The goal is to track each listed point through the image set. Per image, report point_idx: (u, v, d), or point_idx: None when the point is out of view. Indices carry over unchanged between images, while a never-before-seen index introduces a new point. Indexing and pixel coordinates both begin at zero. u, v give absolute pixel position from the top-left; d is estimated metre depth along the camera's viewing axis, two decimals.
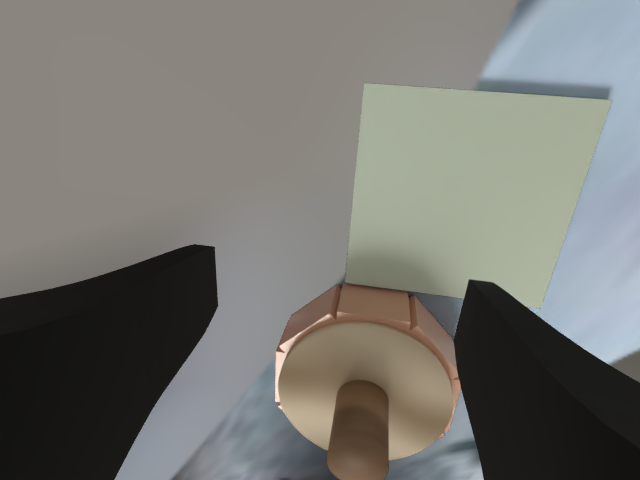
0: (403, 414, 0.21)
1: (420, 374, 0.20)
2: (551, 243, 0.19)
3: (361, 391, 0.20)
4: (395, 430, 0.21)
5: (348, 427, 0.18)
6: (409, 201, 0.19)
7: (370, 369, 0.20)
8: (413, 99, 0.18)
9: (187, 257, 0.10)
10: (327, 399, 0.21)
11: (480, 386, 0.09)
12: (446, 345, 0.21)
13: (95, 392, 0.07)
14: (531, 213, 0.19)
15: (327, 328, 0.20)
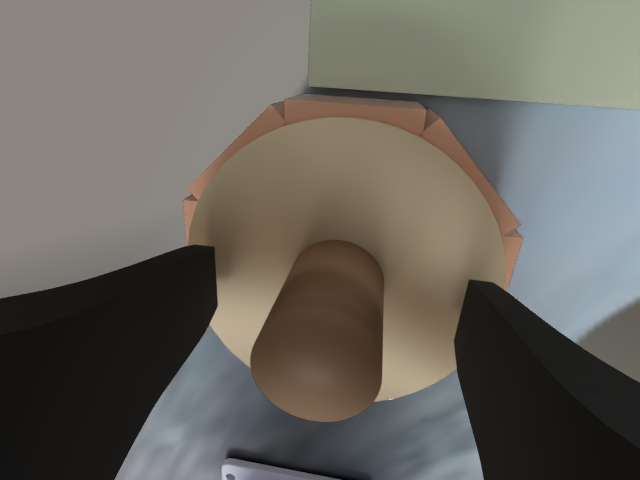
0: (411, 308, 0.11)
1: (445, 219, 0.10)
2: None
3: (331, 252, 0.10)
4: (396, 341, 0.12)
5: (297, 296, 0.08)
6: None
7: (349, 214, 0.11)
8: None
9: (187, 257, 0.10)
10: (275, 285, 0.12)
11: (480, 387, 0.09)
12: None
13: (95, 392, 0.07)
14: None
15: None
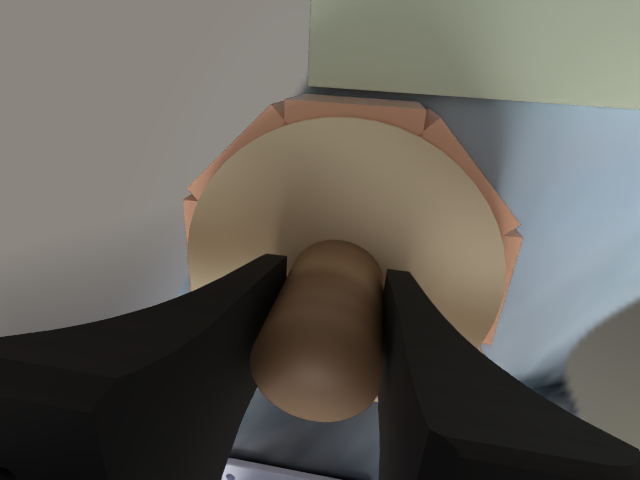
0: None
1: (445, 219, 0.10)
2: None
3: (330, 252, 0.10)
4: None
5: (297, 296, 0.08)
6: None
7: (348, 214, 0.11)
8: None
9: (271, 268, 0.09)
10: None
11: (383, 371, 0.09)
12: None
13: (208, 413, 0.07)
14: None
15: (266, 133, 0.10)
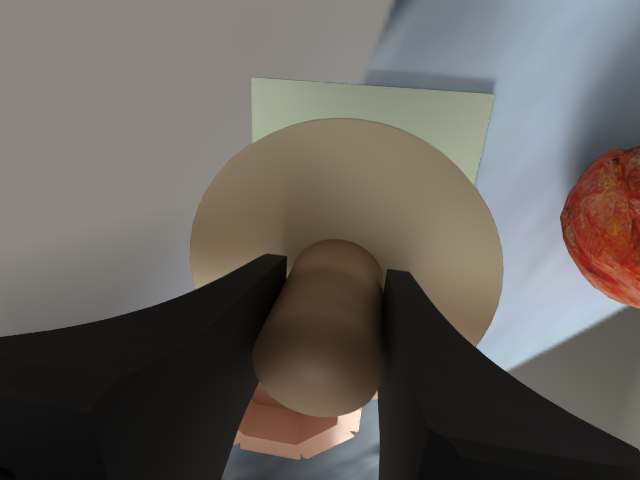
0: None
1: (445, 221, 0.10)
2: None
3: (333, 251, 0.10)
4: None
5: (300, 293, 0.09)
6: None
7: (350, 214, 0.11)
8: (301, 94, 0.17)
9: (270, 268, 0.09)
10: None
11: (383, 371, 0.09)
12: None
13: (208, 413, 0.07)
14: None
15: None
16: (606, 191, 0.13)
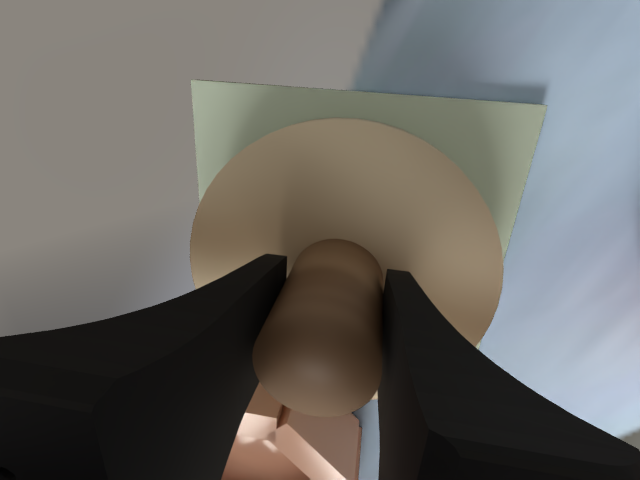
0: None
1: (445, 221, 0.10)
2: None
3: (333, 250, 0.10)
4: None
5: (300, 292, 0.09)
6: None
7: (351, 214, 0.11)
8: (262, 104, 0.12)
9: (270, 268, 0.09)
10: None
11: (384, 371, 0.09)
12: (340, 438, 0.15)
13: (208, 412, 0.07)
14: None
15: None
16: None
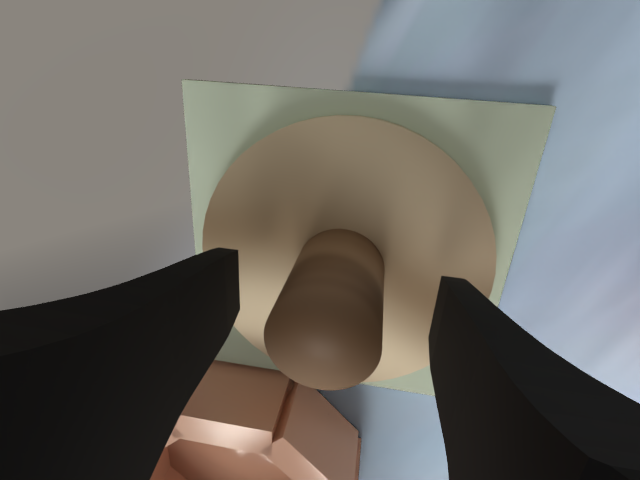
0: (408, 294, 0.12)
1: (442, 211, 0.11)
2: None
3: (337, 239, 0.11)
4: (394, 325, 0.13)
5: (307, 276, 0.09)
6: None
7: (353, 205, 0.12)
8: (256, 104, 0.11)
9: (214, 261, 0.09)
10: (283, 270, 0.13)
11: (447, 381, 0.09)
12: (339, 451, 0.15)
13: (132, 399, 0.07)
14: None
15: (279, 129, 0.11)
16: None
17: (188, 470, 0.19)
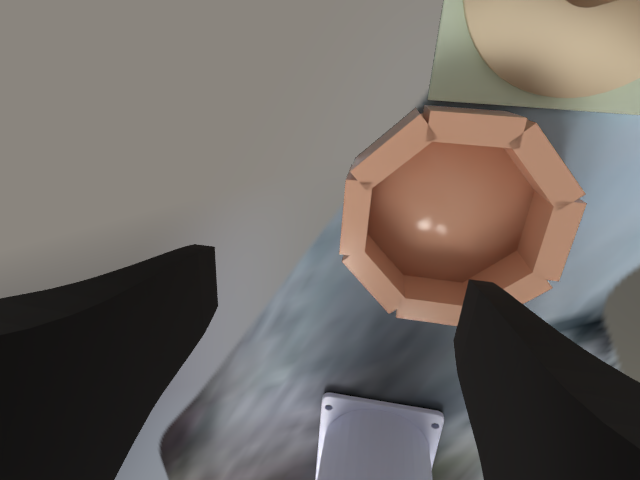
0: None
1: None
2: None
3: None
4: (636, 22, 0.15)
5: None
6: None
7: None
8: None
9: (187, 257, 0.10)
10: None
11: (480, 386, 0.09)
12: None
13: (95, 392, 0.07)
14: None
15: None
16: None
17: (384, 236, 0.21)
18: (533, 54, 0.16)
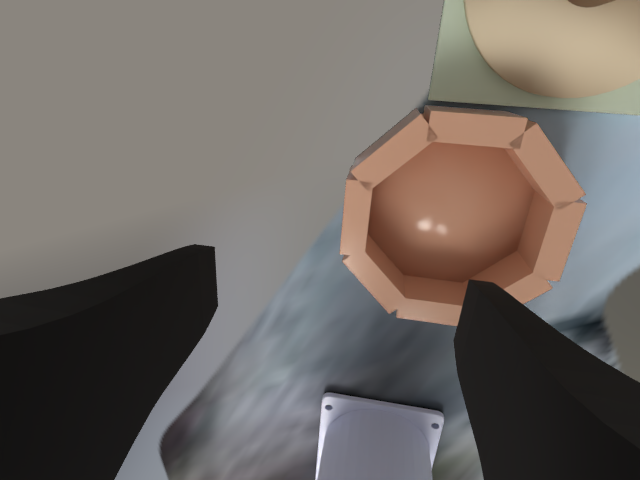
0: None
1: None
2: None
3: None
4: (639, 20, 0.15)
5: None
6: None
7: None
8: None
9: (187, 257, 0.10)
10: None
11: (480, 386, 0.09)
12: None
13: (95, 392, 0.07)
14: None
15: None
16: None
17: (384, 236, 0.21)
18: (537, 55, 0.16)
